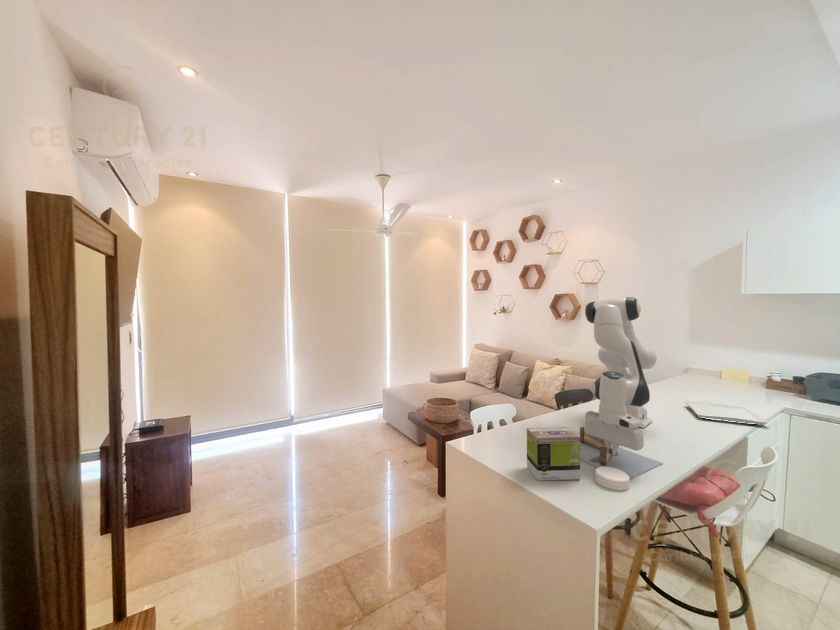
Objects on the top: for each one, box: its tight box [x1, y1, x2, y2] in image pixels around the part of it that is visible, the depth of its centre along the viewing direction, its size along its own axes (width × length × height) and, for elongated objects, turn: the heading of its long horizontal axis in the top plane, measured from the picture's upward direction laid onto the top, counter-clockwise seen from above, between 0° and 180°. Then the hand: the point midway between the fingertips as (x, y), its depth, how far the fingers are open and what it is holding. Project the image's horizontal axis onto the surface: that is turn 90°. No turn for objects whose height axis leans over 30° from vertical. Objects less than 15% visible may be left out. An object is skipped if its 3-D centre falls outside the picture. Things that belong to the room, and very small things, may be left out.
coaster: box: [594, 467, 631, 492], centre depth 112 cm, size 10×10×4 cm
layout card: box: [580, 442, 664, 480], centre depth 131 cm, size 24×28×1 cm
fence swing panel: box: [600, 443, 614, 466], centre depth 127 cm, size 13×2×6 cm, turn 136°
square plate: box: [684, 401, 768, 426], centre depth 181 cm, size 27×27×4 cm
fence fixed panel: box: [579, 426, 617, 454], centre depth 139 cm, size 2×15×6 cm, turn 31°
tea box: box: [526, 426, 581, 481], centre depth 117 cm, size 15×10×15 cm
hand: (611, 453), depth 124 cm, fingers closed
